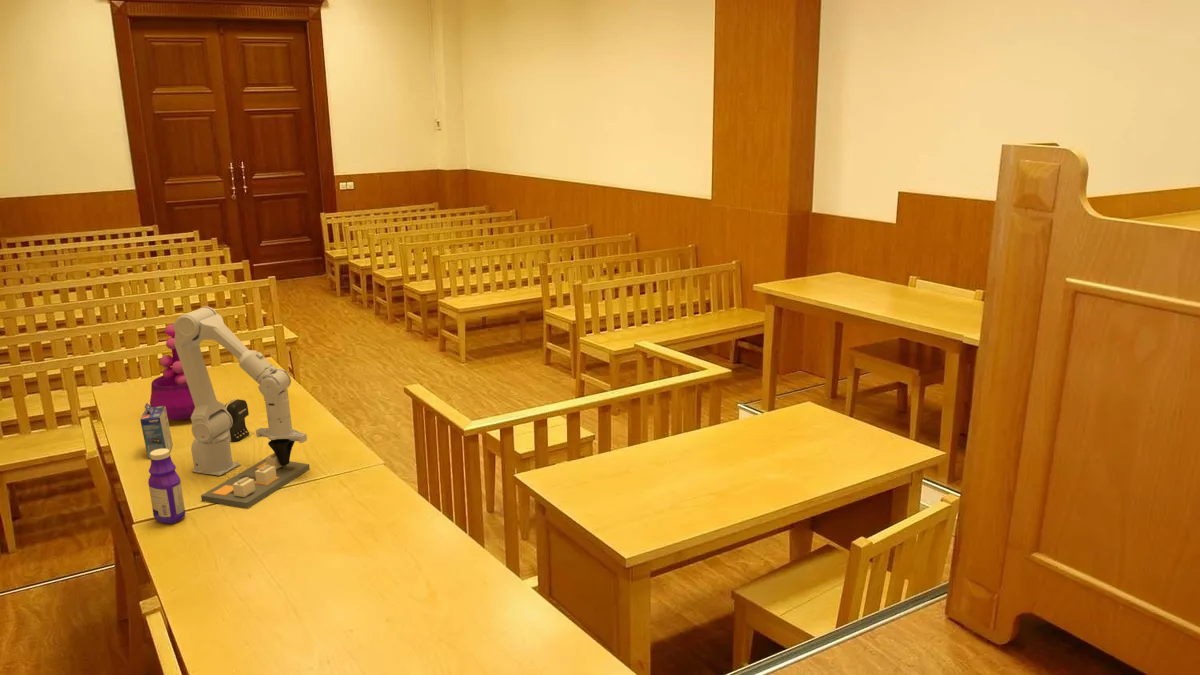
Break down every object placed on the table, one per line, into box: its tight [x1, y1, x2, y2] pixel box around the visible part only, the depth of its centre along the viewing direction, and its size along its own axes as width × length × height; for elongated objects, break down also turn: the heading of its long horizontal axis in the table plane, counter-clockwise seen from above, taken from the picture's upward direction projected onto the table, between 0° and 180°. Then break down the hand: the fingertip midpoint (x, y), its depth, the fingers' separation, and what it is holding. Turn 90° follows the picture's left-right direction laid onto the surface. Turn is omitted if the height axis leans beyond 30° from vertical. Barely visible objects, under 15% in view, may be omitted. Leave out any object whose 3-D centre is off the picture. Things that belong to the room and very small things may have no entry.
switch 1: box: [233, 477, 255, 497], centre depth 214 cm, size 3×4×4 cm
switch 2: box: [255, 464, 276, 484], centre depth 222 cm, size 3×4×4 cm
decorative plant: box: [149, 323, 195, 421], centre depth 269 cm, size 19×19×30 cm
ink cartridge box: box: [139, 402, 173, 459], centre depth 244 cm, size 10×6×14 cm, turn 18°
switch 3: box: [265, 452, 281, 469], centre depth 230 cm, size 3×4×4 cm
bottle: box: [148, 449, 186, 525], centre depth 203 cm, size 7×6×17 cm
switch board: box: [200, 457, 311, 509], centre depth 223 cm, size 14×24×2 cm, turn 161°
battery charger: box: [224, 398, 250, 442], centre depth 253 cm, size 7×4×11 cm, turn 167°
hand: (284, 464), depth 229 cm, fingers closed
